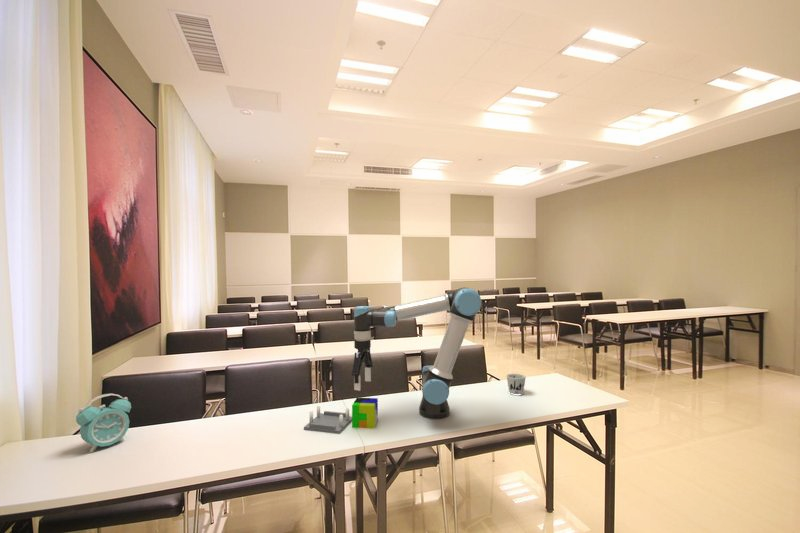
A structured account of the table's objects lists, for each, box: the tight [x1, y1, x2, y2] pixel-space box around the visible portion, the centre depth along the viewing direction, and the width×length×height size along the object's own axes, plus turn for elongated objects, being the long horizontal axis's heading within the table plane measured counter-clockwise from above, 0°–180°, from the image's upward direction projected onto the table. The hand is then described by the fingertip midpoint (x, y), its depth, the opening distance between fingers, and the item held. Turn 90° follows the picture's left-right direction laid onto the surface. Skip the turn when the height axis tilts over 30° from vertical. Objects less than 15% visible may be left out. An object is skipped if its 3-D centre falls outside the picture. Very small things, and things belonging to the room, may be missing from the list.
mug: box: [506, 373, 527, 395], centre depth 209 cm, size 10×15×10 cm
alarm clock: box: [75, 393, 132, 453], centre depth 145 cm, size 17×10×20 cm, turn 148°
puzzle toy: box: [351, 397, 379, 429], centre depth 166 cm, size 10×10×10 cm
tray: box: [303, 405, 352, 435], centre depth 165 cm, size 17×16×6 cm
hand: (362, 385), depth 167 cm, fingers open, 13 cm apart
